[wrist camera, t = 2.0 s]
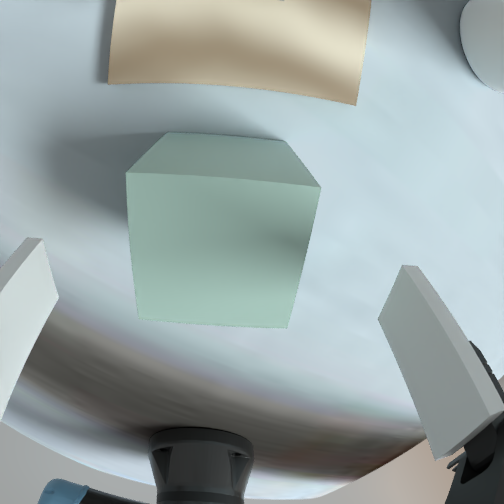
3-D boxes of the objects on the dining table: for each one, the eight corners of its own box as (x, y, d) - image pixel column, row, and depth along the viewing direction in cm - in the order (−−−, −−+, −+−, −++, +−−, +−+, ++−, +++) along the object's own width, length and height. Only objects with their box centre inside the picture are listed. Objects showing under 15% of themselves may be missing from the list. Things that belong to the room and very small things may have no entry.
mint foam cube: (269, 243, 21) (287, 328, 15) (165, 235, 21) (138, 319, 14) (286, 141, 18) (321, 187, 11) (167, 132, 17) (125, 172, 10)
